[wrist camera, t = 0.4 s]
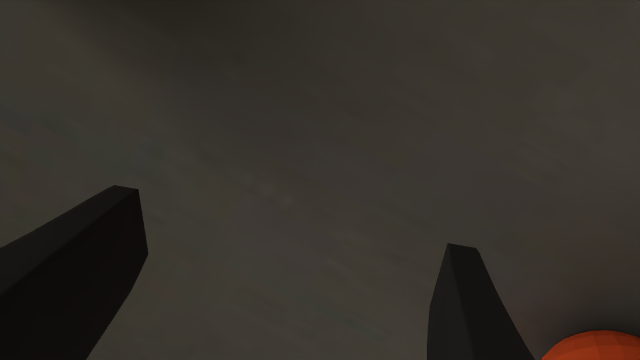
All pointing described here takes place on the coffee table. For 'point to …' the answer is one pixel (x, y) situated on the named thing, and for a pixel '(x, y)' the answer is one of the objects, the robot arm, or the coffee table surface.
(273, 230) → the coffee table surface
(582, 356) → the clementine
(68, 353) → the robot arm
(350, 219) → the coffee table surface
